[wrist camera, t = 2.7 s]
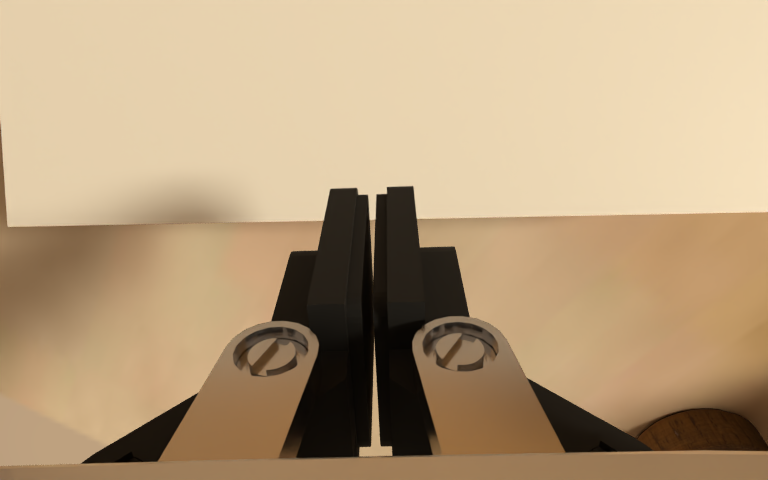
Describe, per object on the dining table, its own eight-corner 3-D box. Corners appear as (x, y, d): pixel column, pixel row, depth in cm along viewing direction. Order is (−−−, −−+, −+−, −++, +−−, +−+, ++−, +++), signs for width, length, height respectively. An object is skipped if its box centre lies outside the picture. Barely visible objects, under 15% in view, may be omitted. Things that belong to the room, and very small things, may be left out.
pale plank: (789, 209, 18) (827, 210, 16) (41, 224, 19) (7, 226, 17) (798, -76, 17) (838, -104, 16) (24, -45, 18) (-13, -69, 17)
